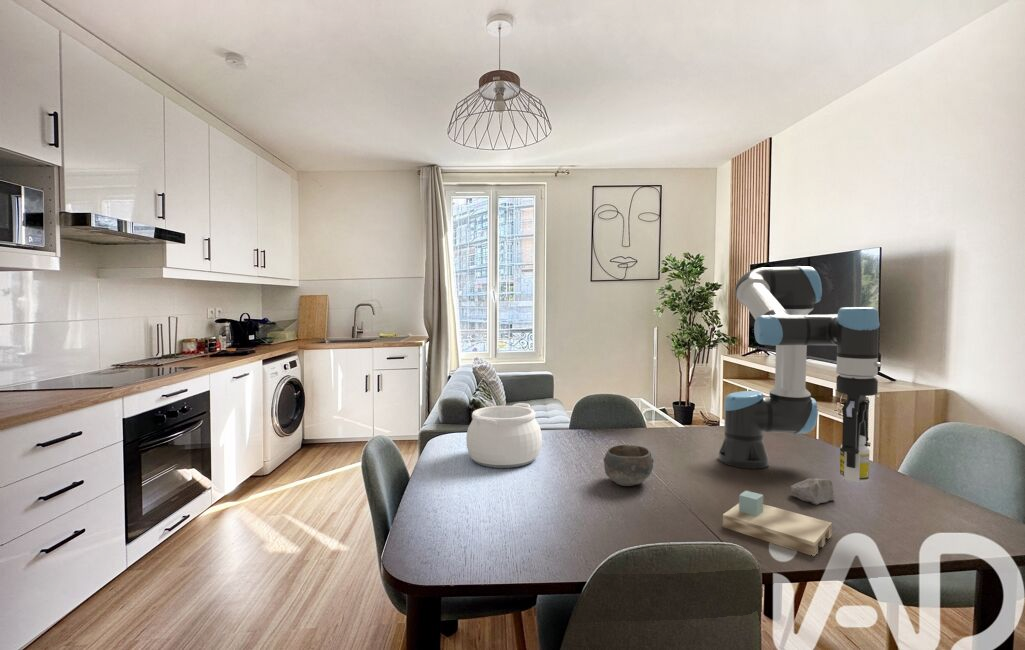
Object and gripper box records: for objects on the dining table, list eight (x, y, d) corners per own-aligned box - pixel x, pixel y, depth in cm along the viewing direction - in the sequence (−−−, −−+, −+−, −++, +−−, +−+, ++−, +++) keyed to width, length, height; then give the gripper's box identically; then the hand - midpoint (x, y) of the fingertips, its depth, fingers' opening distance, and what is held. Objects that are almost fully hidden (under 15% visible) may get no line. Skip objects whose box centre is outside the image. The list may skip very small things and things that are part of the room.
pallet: (722, 527, 113) (722, 514, 113) (744, 510, 121) (744, 499, 121) (814, 556, 99) (814, 542, 99) (831, 535, 108) (831, 522, 108)
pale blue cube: (739, 511, 114) (739, 494, 114) (745, 506, 117) (745, 490, 117) (756, 516, 111) (756, 499, 111) (763, 511, 114) (763, 494, 114)
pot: (515, 478, 147) (514, 423, 147) (448, 464, 161) (447, 414, 161) (556, 453, 172) (556, 406, 172) (496, 443, 186) (495, 399, 185)
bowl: (656, 478, 145) (656, 445, 145) (648, 496, 132) (648, 460, 131) (611, 472, 151) (611, 441, 151) (598, 489, 137) (598, 454, 137)
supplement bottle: (833, 474, 111) (834, 433, 110) (855, 473, 111) (856, 432, 111) (852, 483, 105) (853, 439, 105) (875, 482, 106) (876, 438, 105)
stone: (816, 492, 133) (816, 471, 133) (841, 504, 125) (841, 482, 125) (785, 495, 131) (785, 474, 131) (808, 507, 123) (808, 485, 123)
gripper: (868, 383, 98) (866, 493, 99) (885, 372, 110) (883, 470, 112) (825, 379, 103) (824, 484, 105) (847, 369, 116) (845, 463, 117)
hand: (854, 476), depth 108 cm, fingers closed on supplement bottle, 5 cm apart
